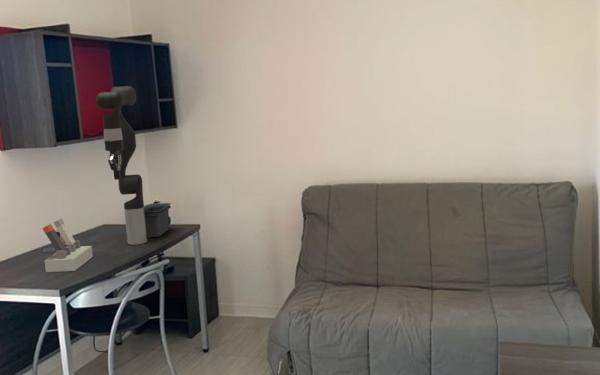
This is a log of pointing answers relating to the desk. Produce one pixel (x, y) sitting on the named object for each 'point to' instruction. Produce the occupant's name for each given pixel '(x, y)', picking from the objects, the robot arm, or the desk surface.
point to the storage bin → (156, 219)
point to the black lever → (54, 238)
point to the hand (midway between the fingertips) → (117, 179)
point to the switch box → (69, 258)
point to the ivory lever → (64, 232)
